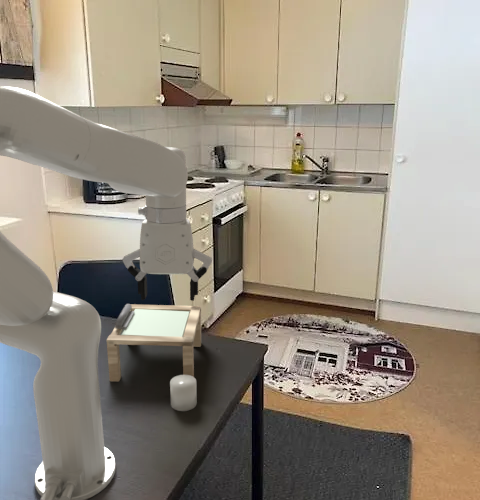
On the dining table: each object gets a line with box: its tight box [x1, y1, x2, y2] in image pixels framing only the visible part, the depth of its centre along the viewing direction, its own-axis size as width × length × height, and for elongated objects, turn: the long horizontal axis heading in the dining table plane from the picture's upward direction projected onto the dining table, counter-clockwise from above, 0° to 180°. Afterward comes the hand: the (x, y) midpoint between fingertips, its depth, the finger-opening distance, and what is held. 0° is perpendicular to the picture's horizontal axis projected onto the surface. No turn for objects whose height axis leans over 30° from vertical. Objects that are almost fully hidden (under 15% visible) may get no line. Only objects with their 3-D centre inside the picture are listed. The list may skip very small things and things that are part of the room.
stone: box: [169, 374, 198, 412], centre depth 100 cm, size 5×5×5 cm
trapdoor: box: [114, 303, 190, 337], centre depth 113 cm, size 13×15×3 cm
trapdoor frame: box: [106, 303, 202, 382], centre depth 114 cm, size 18×18×10 cm
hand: (168, 297), depth 99 cm, fingers open, 9 cm apart
